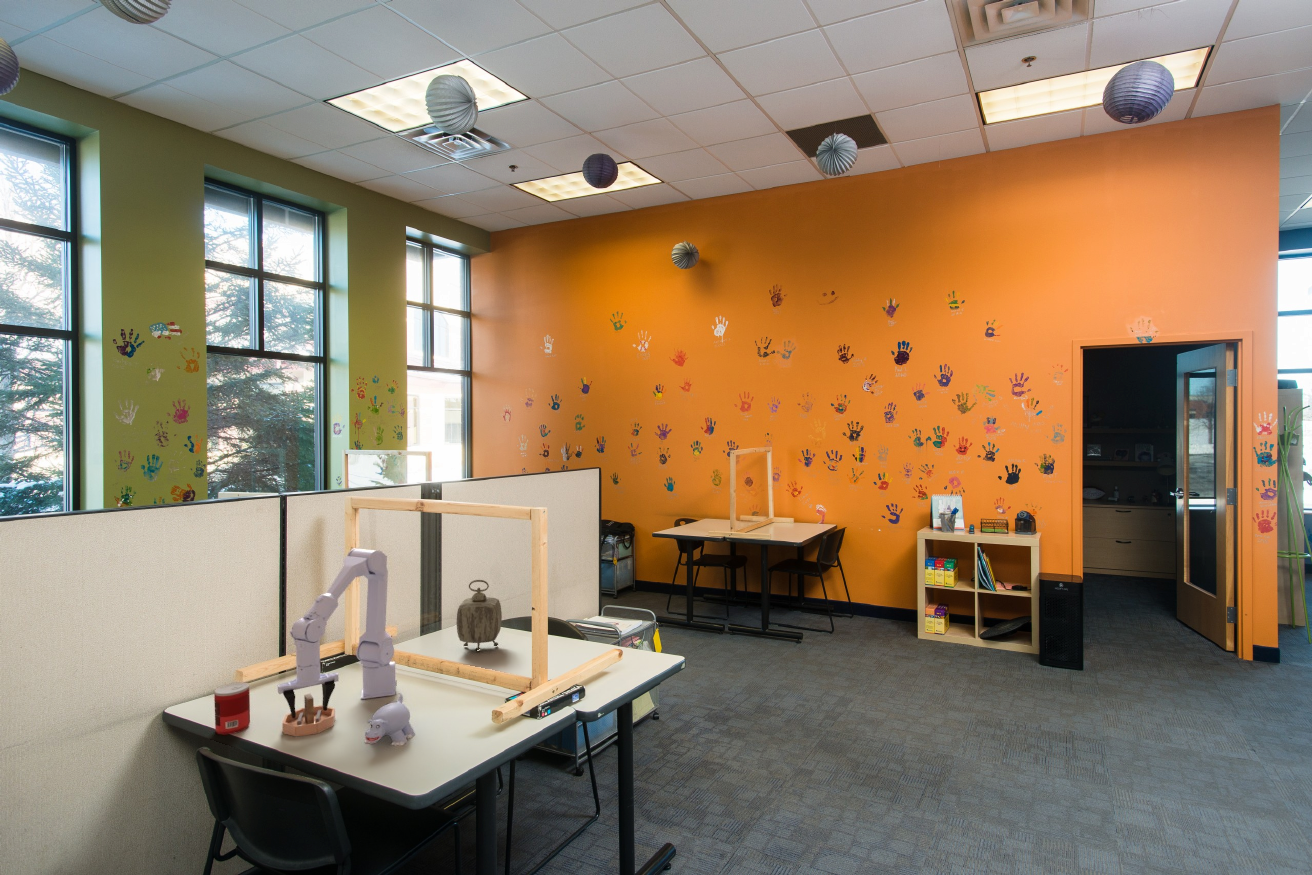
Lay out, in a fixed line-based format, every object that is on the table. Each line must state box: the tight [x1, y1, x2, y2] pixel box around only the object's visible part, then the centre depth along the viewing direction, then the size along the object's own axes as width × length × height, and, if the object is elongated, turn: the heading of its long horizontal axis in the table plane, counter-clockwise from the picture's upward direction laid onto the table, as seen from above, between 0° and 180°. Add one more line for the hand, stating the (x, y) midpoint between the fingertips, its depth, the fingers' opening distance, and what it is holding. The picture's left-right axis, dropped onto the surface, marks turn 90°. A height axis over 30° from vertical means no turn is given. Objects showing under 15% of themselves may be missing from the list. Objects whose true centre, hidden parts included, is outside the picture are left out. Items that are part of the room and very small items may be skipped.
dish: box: [281, 704, 336, 737], centre depth 186 cm, size 12×12×3 cm
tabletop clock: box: [456, 579, 503, 650], centre depth 245 cm, size 14×9×25 cm, turn 93°
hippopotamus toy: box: [364, 692, 416, 747], centre depth 177 cm, size 11×15×10 cm
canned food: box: [213, 682, 251, 735], centre depth 185 cm, size 8×8×11 cm
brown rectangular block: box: [303, 693, 315, 724], centre depth 186 cm, size 2×4×7 cm, turn 37°
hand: (309, 713), depth 186 cm, fingers open, 7 cm apart
